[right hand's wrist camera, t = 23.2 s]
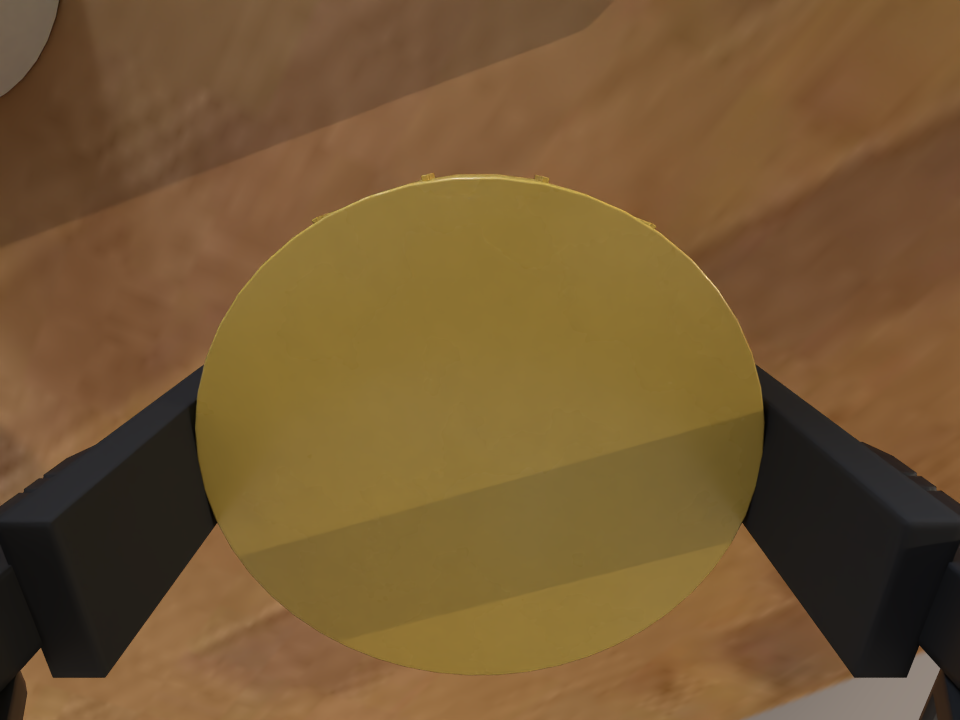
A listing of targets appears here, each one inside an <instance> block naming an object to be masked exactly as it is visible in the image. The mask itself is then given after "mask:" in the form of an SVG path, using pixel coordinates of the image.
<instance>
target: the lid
mask: <svg viewBox="0 0 960 720" xmlns="http://www.w3.org/2000/svg"><path fill="white" fill-rule="evenodd" d="M421 179H422V180H420V181H416V182H413V183H410V184H406V185H403V186H400V187H396V188H393V189H389V190H386V191H383V192H380V193H377V194H374V195H371V196H368V197H365V198H363V199H361V200H359V201H357V202H354V203H352V204H350V205H348V206H346V207H344V208H341V209H339V210H336V211H333V212H331V213H328V214H325V215H322V216H319V217H316V218H315V219H313V220H312V222H313V225H311V226H310V227H308V228H307V229H305V230H304V231H302V232H301V233H299V234H298V235H296V236H295V237H293V238H292V239H291V240H290V241H288V242H287V243H286V244H285V245H284V246H283V247H282V248H281V249H279V250H278V251H277V252H276V253H275V254H274V255H273V256H272V257H270V258H269V259H268V260H267V261H266V262H265V263H264V264H263V265H262V266H261V267H260V268H259V269H258V271H257V272H256V273H255V274H254V275H253V277H252V278H251V279H250V280H249V281H248V283H247V284H246V285H245V286H244V287H243V289H242V290H241V291H240V292H239V293H238V295H237V297H236V298H235V300H234V302H233V303H232V305H231V307H230V308H229V310H228V312H227V313H226V315H225V317H224V318H223V320H222V322H221V323H220V325H219V327H218V329H217V332H216V334H215V337H214V339H213V342H212V344H211V347H210V349H209V352H208V354H207V357H206V359H205V363H204V368H203V372H202V376H201V381H200V385H199V389H198V394H197V408H196V421H195V433H196V445H197V456H198V462H199V466H200V471H201V475H202V480H203V484H204V489H205V493H206V495H207V498H208V501H209V503H210V506H211V508H212V511H213V514H214V516H215V519H216V521H217V523H218V525H219V527H220V528H221V530H222V532H223V534H224V536H225V537H226V539H227V541H228V543H229V545H230V547H231V548H232V550H233V551H234V552H235V554H236V555H237V556H238V558H239V559H240V561H241V562H242V563H243V565H244V566H245V567H246V569H247V570H248V571H249V573H250V574H251V575H252V576H253V577H254V578H255V579H256V580H257V581H258V582H259V584H260V585H261V586H262V587H263V588H264V589H265V590H266V591H267V592H268V593H269V594H270V595H271V596H272V597H273V598H274V599H275V600H277V601H278V602H279V603H280V604H281V605H283V606H284V607H285V608H286V609H287V610H289V611H290V612H291V613H292V614H293V615H295V616H296V617H297V618H299V619H300V620H302V621H303V622H305V623H306V624H308V625H309V626H311V627H312V628H314V629H315V630H317V631H318V632H320V633H322V634H324V635H326V636H328V637H329V638H331V639H333V640H335V641H337V642H339V643H341V644H343V645H345V646H347V647H349V648H351V649H354V650H356V651H359V652H361V653H364V654H366V655H369V656H371V657H374V658H377V659H380V660H384V661H387V662H390V663H394V664H397V665H401V666H404V667H409V668H414V669H420V670H425V671H431V672H436V673H447V674H459V675H502V674H512V673H521V672H530V671H535V670H540V669H545V668H550V667H555V666H559V665H563V664H566V663H569V662H572V661H576V660H579V659H582V658H585V657H589V656H591V655H593V654H596V653H598V652H601V651H603V650H605V649H608V648H610V647H612V646H615V645H617V644H619V643H621V642H623V641H624V640H626V639H628V638H630V637H632V636H634V635H635V634H637V633H639V632H641V631H643V630H644V629H646V628H647V627H649V626H650V625H652V624H653V623H655V622H656V621H657V620H659V619H660V618H662V617H663V616H665V615H666V614H667V613H669V612H670V611H671V610H672V609H674V608H675V607H676V606H677V605H678V604H679V603H680V602H682V601H683V600H684V599H685V598H686V597H687V596H688V595H690V594H691V593H692V592H693V591H694V590H695V589H696V587H697V586H698V585H699V584H700V583H701V582H702V581H703V580H704V579H705V578H706V576H707V575H708V574H709V573H710V572H711V571H712V570H713V569H714V567H715V566H716V564H717V563H718V561H719V560H720V559H721V557H722V556H723V554H724V553H725V551H726V550H727V549H728V547H729V546H730V544H731V543H732V541H733V539H734V537H735V535H736V533H737V531H738V529H739V527H740V525H741V523H742V522H743V520H744V518H745V516H746V513H747V510H748V507H749V505H750V502H751V499H752V496H753V494H754V491H755V487H756V482H757V477H758V473H759V468H760V463H761V459H762V454H763V440H764V412H763V402H762V391H761V385H760V381H759V377H758V374H757V370H756V366H755V362H754V358H753V354H752V352H751V349H750V347H749V345H748V342H747V340H746V338H745V336H744V333H743V331H742V329H741V326H740V324H739V322H738V320H737V318H736V317H735V315H734V313H733V312H732V310H731V309H730V307H729V306H728V304H727V302H726V301H725V299H724V298H723V296H722V295H721V293H720V291H719V290H718V288H717V287H716V286H715V285H714V284H713V283H712V282H711V280H710V279H709V278H708V277H707V276H706V275H705V274H704V272H703V271H702V270H701V269H700V268H699V267H698V266H697V264H696V263H695V262H694V261H693V260H692V259H691V258H690V257H689V256H687V255H686V254H685V253H684V252H683V251H681V250H680V249H679V248H678V247H677V246H676V245H674V244H673V243H672V242H671V241H670V240H668V239H667V238H666V237H665V236H664V235H662V234H661V233H660V232H658V231H656V230H655V228H656V226H655V225H654V224H652V223H650V222H647V221H645V220H642V219H639V218H636V217H634V216H632V215H631V214H629V213H627V212H626V211H624V210H621V209H619V208H617V207H614V206H612V205H610V204H607V203H605V202H603V201H600V200H598V199H596V198H593V197H591V196H589V195H587V194H584V193H581V192H577V191H574V190H571V189H568V188H564V187H561V186H557V185H553V184H550V183H548V182H549V178H547V177H543V176H539V175H535V177H534V179H531V178H523V177H515V176H507V175H499V174H458V175H451V176H444V177H438V178H435V176H434V173H431V174H426V175H423V176H421Z"/></svg>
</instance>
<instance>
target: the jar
mask: <svg viewBox="0 0 960 720" xmlns="http://www.w3.org/2000/svg"><path fill="white" fill-rule="evenodd" d="M58 3H59V0H0V97H1V96H2V95H4V94H6V93H7V92H8V91H9V90H11V89H12V88H13V87H14V86H15V85H16V84H17V83H18V82H19V81H20V80H22V79H23V78H24V76H25V75H26V74H27V72H28V71H29V70H30V69H31V67H32V66H33V65H34V63H35V62H36V61H37V59H38V57H39V55H40V53H41V52H42V50H43V48H44V46H45V44H46V42H47V40H48V38H49V35H50V32H51V29H52V26H53V23H54V20H55V18H56V13H57V8H58Z"/></svg>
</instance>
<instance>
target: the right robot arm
mask: <svg viewBox="0 0 960 720" xmlns="http://www.w3.org/2000/svg"><path fill="white" fill-rule="evenodd" d="M755 366H756V370H757V374H758V377H759V381H760V385H761V391H762V402H763V412H764V440H763V454H762V459H761V463H760V468H759V473H758V477H757V482H756V487H755V491H754V494H753V496H752V499H751V502H750V505H749V507H748V510H747V513H746V516H745V518H744V520H743V522H742V523H743V524H744V526H745V527H746V528H747V530H748V531H749V533H750V534H751V535H752V537H753V538H754V539H755V541H756V542H757V544H758V545H759V546H760V548H761V549H762V551H763V552H764V553H765V555H766V556H767V557H768V559H769V560H770V562H771V563H772V564H773V566H774V567H775V569H776V570H777V571H778V573H779V574H780V575H781V577H782V578H783V580H784V581H785V582H786V584H787V585H788V586H789V588H790V589H791V591H792V592H793V593H794V595H795V596H796V598H797V599H798V600H799V602H800V603H801V604H802V606H803V607H804V609H805V610H806V611H807V613H808V614H809V616H810V617H811V618H812V620H813V621H814V622H815V624H816V625H817V627H818V628H819V629H820V631H821V632H822V634H823V635H824V636H825V638H826V639H827V640H828V642H829V643H830V645H831V646H832V647H833V649H834V650H835V651H836V653H837V654H838V656H839V657H840V658H841V660H842V661H843V663H844V664H845V665H846V667H847V668H848V669H849V671H850V672H851V674H852V675H853V676H854V678H906V677H907V675H908V673H909V670H910V668H911V665H912V663H913V660H914V658H915V655H916V653H917V650H918V647H919V645H920V646H921V647H922V649H923V650H924V651H925V652H926V653H927V654H928V655H929V656H930V657H931V658H932V660H933V661H934V662H935V663H936V664H937V665H938V666H939V667H940V668H941V669H940V671H939V673H938V676H937V678H936V680H935V683H934V685H933V687H932V690H931V692H930V694H929V697H928V699H927V702H926V704H925V706H924V709H923V711H922V713H921V716H920V718H919V720H960V504H959V503H958V502H957V501H955V500H954V499H952V498H951V497H950V496H948V495H947V494H945V493H944V492H943V491H937V490H936V486H934V485H933V484H931V483H930V482H929V481H927V480H926V479H924V478H923V477H922V476H917V473H916V472H915V471H913V470H912V469H910V468H909V467H908V466H906V465H905V464H903V463H902V462H901V461H899V460H898V459H896V458H895V457H894V456H892V455H890V454H887V453H885V452H883V451H881V450H879V449H877V448H875V447H872V446H870V445H868V444H866V443H864V442H859V441H858V440H857V439H855V438H854V437H853V436H851V435H850V434H849V433H847V432H846V431H845V430H843V429H842V428H840V427H839V426H838V425H836V424H835V423H834V422H832V421H831V420H830V419H828V418H827V417H826V416H824V415H823V414H822V413H820V412H819V411H818V410H816V409H815V408H814V407H812V406H811V405H809V404H808V403H807V402H805V401H804V400H803V399H801V398H800V397H799V396H797V395H796V394H795V393H793V392H792V391H791V390H789V389H788V388H787V387H785V386H784V385H783V384H781V383H780V382H778V381H777V380H776V379H774V378H773V377H772V376H770V375H769V374H768V373H766V372H765V371H764V370H762V369H761V368H760V367H758V366H757V365H756V364H755ZM203 368H204V365H203V366H201V367H200V368H199V369H197V370H196V371H195V372H193V373H192V374H191V375H189V376H188V377H187V378H185V379H184V380H182V381H181V382H180V383H178V384H177V385H176V386H174V387H173V388H172V389H170V390H169V391H168V392H166V393H165V394H164V395H162V396H161V397H160V398H158V399H157V400H156V401H154V402H153V403H151V404H150V405H149V406H147V407H146V408H145V409H143V410H142V411H141V412H139V413H138V414H137V415H135V416H134V417H133V418H131V419H130V420H129V421H127V422H126V423H125V424H123V425H122V426H120V427H119V428H118V429H116V430H115V431H114V432H112V433H111V434H110V435H108V436H107V437H106V438H104V439H103V440H102V441H100V442H99V443H98V444H96V445H94V446H92V447H90V448H88V449H86V450H83V451H81V452H79V453H77V454H75V455H73V456H71V457H68V458H67V459H65V460H64V461H62V462H61V463H60V464H58V465H57V466H55V467H54V468H53V469H51V470H50V471H49V472H47V473H46V474H44V477H43V478H39V479H37V480H36V481H35V482H33V483H32V484H31V485H29V486H28V487H26V488H25V489H24V492H23V493H18V494H17V495H15V496H14V497H13V498H11V499H10V500H8V501H7V502H6V503H4V504H3V505H1V506H0V720H23V715H24V709H25V703H26V697H27V689H26V684H25V680H24V678H23V676H22V673H21V671H20V670H21V669H22V668H23V667H24V666H25V665H26V663H27V662H28V661H29V660H30V659H31V658H32V657H33V656H34V655H35V653H36V652H37V651H38V650H39V649H40V648H41V649H42V651H43V654H44V656H45V659H46V661H47V664H48V666H49V669H50V671H51V674H52V676H53V678H105V677H106V676H107V674H108V673H109V672H110V670H111V669H112V668H113V666H114V665H115V663H116V662H117V661H118V659H119V658H120V656H121V655H122V654H123V652H124V651H125V650H126V648H127V647H128V645H129V644H130V643H131V641H132V640H133V639H134V637H135V636H136V634H137V633H138V632H139V630H140V629H141V627H142V626H143V625H144V623H145V622H146V621H147V619H148V618H149V616H150V615H151V614H152V612H153V611H154V609H155V608H156V607H157V605H158V604H159V603H160V601H161V600H162V598H163V597H164V596H165V594H166V593H167V592H168V590H169V589H170V587H171V586H172V585H173V583H174V582H175V580H176V579H177V578H178V576H179V575H180V574H181V572H182V571H183V569H184V568H185V567H186V565H187V564H188V562H189V561H190V560H191V558H192V557H193V556H194V554H195V553H196V551H197V550H198V549H199V547H200V546H201V545H202V543H203V542H204V540H205V539H206V538H207V536H208V535H209V533H210V532H211V531H212V529H213V528H214V527H215V525H216V524H217V521H216V519H215V516H214V514H213V511H212V508H211V506H210V503H209V501H208V498H207V495H206V493H205V489H204V484H203V480H202V475H201V471H200V466H199V462H198V456H197V445H196V433H195V421H196V408H197V394H198V389H199V385H200V381H201V376H202V372H203Z"/></svg>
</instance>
